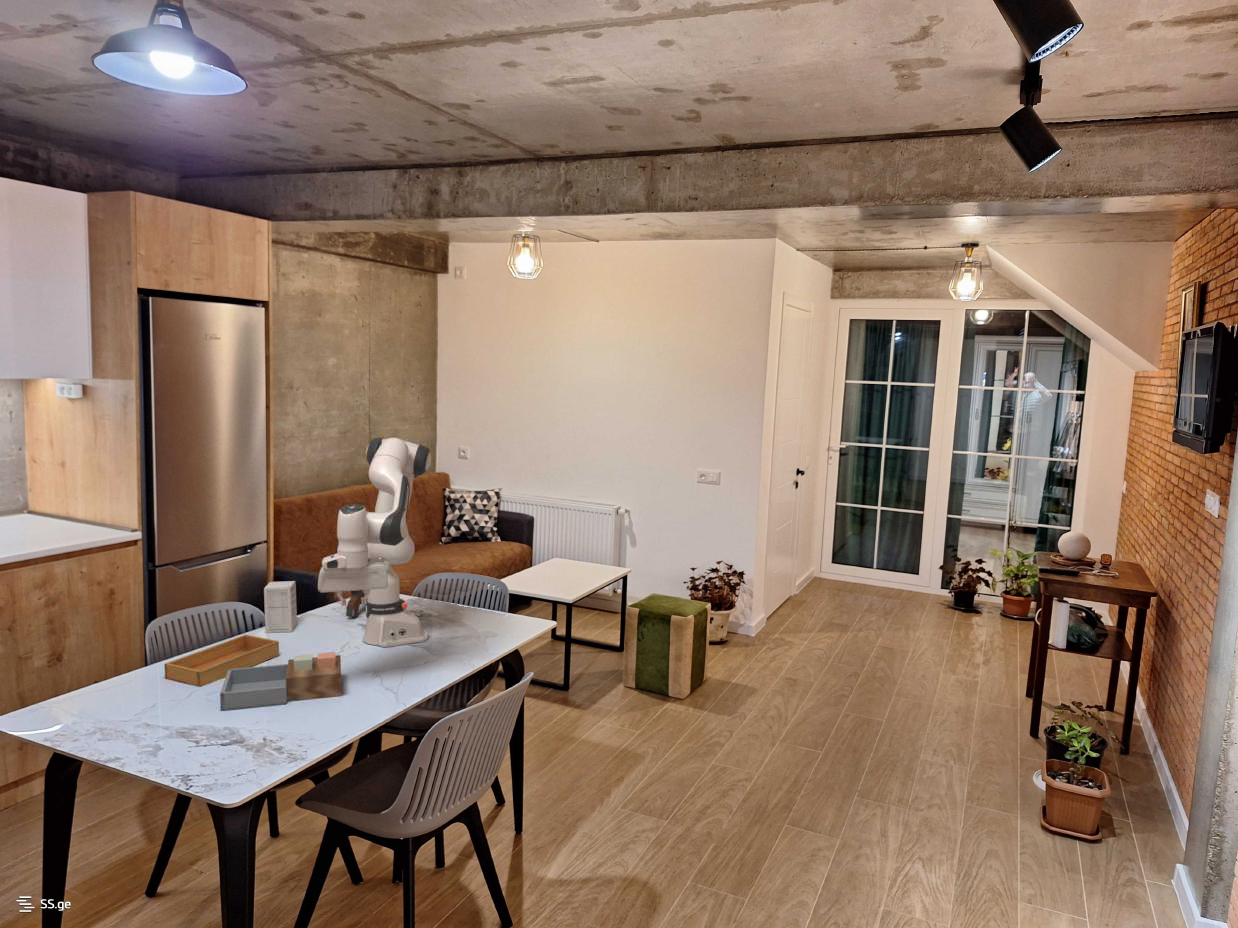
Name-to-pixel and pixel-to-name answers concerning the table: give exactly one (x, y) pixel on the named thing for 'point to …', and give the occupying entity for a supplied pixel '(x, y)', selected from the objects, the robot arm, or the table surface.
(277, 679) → the bin
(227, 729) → the table surface
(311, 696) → the walnut ledge
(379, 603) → the robot arm
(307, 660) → the sage tile
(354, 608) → the gun
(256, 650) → the tray
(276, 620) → the white tall block
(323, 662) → the terracotta tile
